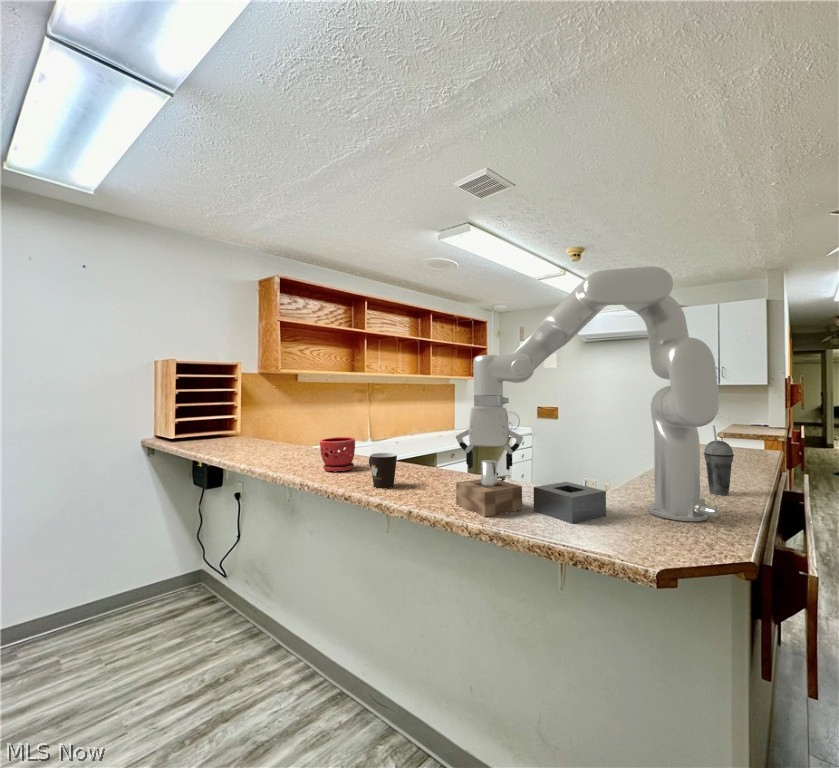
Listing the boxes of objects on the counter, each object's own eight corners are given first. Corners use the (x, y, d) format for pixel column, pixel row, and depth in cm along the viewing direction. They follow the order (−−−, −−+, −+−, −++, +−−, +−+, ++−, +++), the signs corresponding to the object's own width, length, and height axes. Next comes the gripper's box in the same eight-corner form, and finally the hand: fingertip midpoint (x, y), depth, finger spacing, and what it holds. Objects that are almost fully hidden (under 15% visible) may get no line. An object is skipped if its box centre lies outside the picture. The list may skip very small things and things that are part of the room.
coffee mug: (399, 488, 131) (399, 456, 131) (372, 490, 129) (372, 457, 129) (392, 480, 142) (392, 451, 142) (366, 482, 140) (366, 452, 140)
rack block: (522, 509, 108) (522, 486, 108) (485, 517, 102) (484, 492, 102) (491, 499, 118) (491, 477, 118) (456, 505, 112) (456, 482, 112)
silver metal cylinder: (499, 508, 109) (499, 461, 109) (487, 510, 107) (487, 463, 107) (490, 504, 112) (489, 459, 113) (478, 506, 110) (477, 461, 111)
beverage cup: (740, 497, 119) (739, 426, 119) (711, 496, 120) (711, 426, 121) (725, 491, 126) (725, 424, 127) (699, 490, 127) (698, 424, 128)
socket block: (606, 515, 102) (605, 491, 103) (572, 523, 96) (571, 497, 97) (566, 504, 113) (566, 481, 113) (533, 510, 107) (533, 487, 107)
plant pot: (335, 465, 170) (335, 436, 170) (361, 468, 163) (361, 437, 164) (312, 471, 159) (312, 439, 159) (339, 474, 152) (339, 441, 152)
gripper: (522, 401, 111) (523, 466, 111) (458, 402, 116) (458, 464, 116) (522, 402, 104) (523, 472, 104) (453, 403, 109) (453, 469, 108)
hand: (489, 468), depth 110 cm, fingers open, 9 cm apart
